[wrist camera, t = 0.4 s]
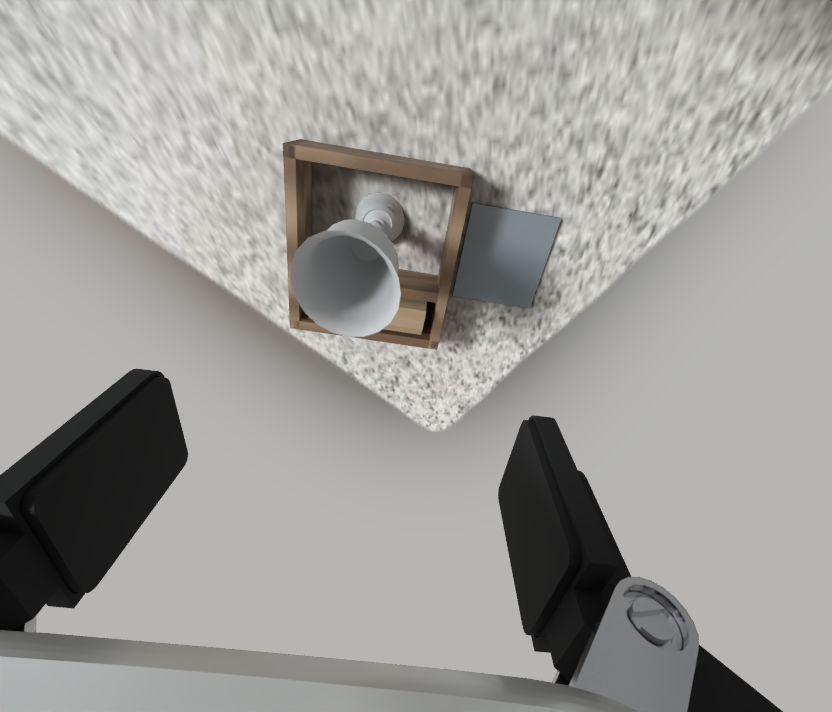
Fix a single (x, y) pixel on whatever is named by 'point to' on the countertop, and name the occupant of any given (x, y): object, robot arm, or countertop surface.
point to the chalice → (352, 270)
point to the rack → (411, 283)
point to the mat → (504, 255)
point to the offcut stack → (409, 316)
